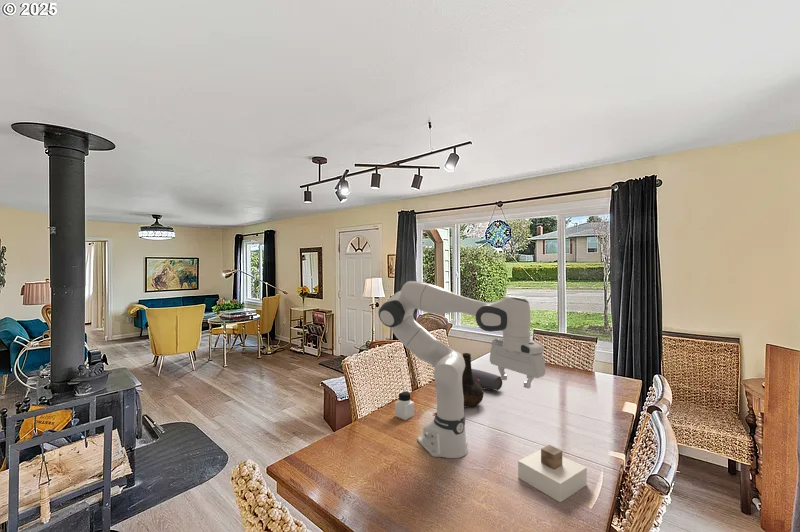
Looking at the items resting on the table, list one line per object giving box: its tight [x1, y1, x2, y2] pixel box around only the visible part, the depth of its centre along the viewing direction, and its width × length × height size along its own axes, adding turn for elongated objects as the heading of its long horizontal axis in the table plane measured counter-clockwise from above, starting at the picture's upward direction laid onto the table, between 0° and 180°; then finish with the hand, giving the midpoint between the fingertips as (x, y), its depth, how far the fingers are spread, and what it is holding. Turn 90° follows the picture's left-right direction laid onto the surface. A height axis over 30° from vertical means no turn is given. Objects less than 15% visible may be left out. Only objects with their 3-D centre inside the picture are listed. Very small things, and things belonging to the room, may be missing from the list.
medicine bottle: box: [394, 390, 415, 421], centre depth 176 cm, size 7×7×12 cm
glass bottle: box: [462, 352, 485, 408], centre depth 191 cm, size 18×18×28 cm
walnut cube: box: [540, 444, 563, 470], centre depth 122 cm, size 5×5×5 cm
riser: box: [517, 449, 588, 503], centre depth 122 cm, size 16×16×6 cm
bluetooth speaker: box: [471, 368, 503, 391], centre depth 218 cm, size 23×9×10 cm, turn 42°
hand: (515, 383), depth 119 cm, fingers open, 8 cm apart
